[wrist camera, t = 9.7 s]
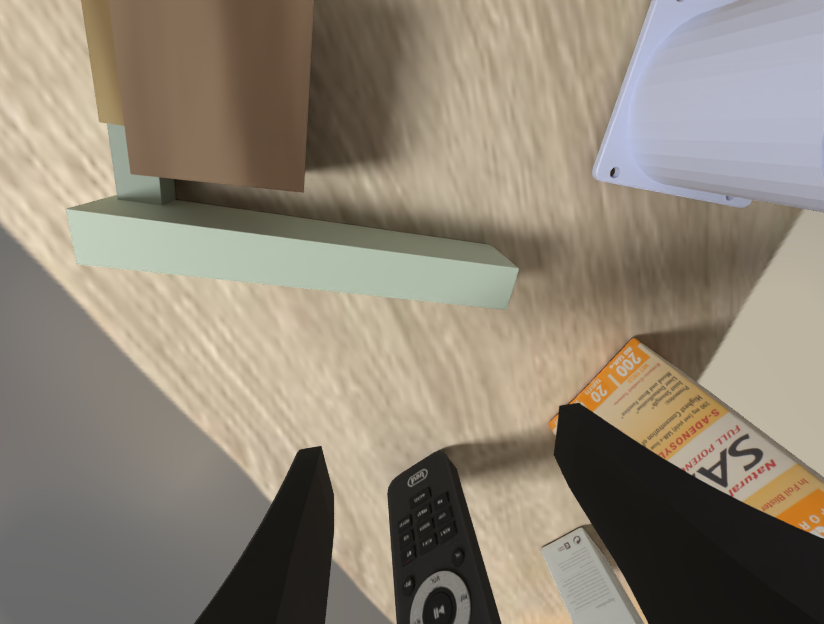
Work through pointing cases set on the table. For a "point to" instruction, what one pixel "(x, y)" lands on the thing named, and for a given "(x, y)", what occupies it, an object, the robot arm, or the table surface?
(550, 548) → the skincare box
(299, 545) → the robot arm
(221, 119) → the brown block
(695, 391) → the supplement box
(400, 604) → the remote control
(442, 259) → the green l-shaped block
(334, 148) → the table surface
